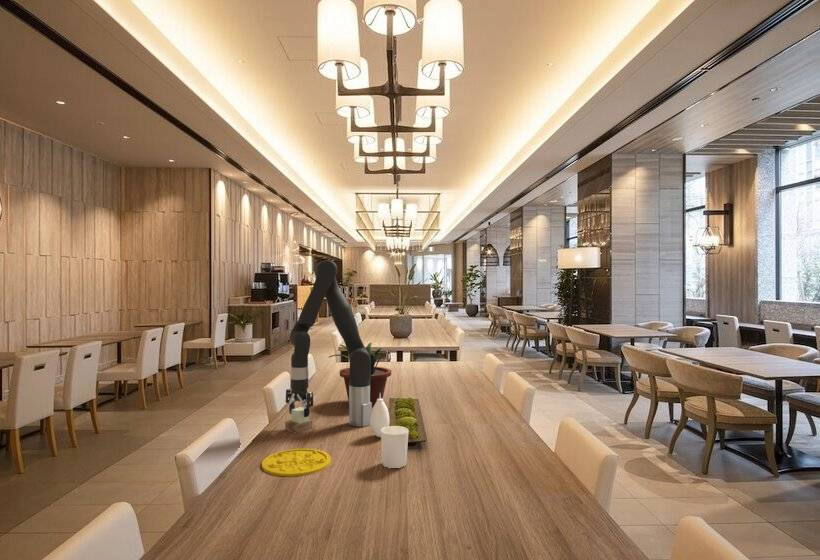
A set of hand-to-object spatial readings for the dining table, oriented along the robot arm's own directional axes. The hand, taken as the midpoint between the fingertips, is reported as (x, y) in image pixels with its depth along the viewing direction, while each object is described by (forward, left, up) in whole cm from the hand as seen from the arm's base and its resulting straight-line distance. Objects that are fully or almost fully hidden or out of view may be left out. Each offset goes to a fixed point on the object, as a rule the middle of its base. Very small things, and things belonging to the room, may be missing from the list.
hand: (299, 415), depth 207 cm
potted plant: (+5, -47, -6) cm, 48 cm away
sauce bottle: (-34, -12, -6) cm, 37 cm away
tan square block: (0, 0, -6) cm, 6 cm away
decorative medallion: (-27, +27, -7) cm, 39 cm away
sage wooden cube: (0, 0, -3) cm, 3 cm away
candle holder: (-56, +9, -6) cm, 57 cm away
